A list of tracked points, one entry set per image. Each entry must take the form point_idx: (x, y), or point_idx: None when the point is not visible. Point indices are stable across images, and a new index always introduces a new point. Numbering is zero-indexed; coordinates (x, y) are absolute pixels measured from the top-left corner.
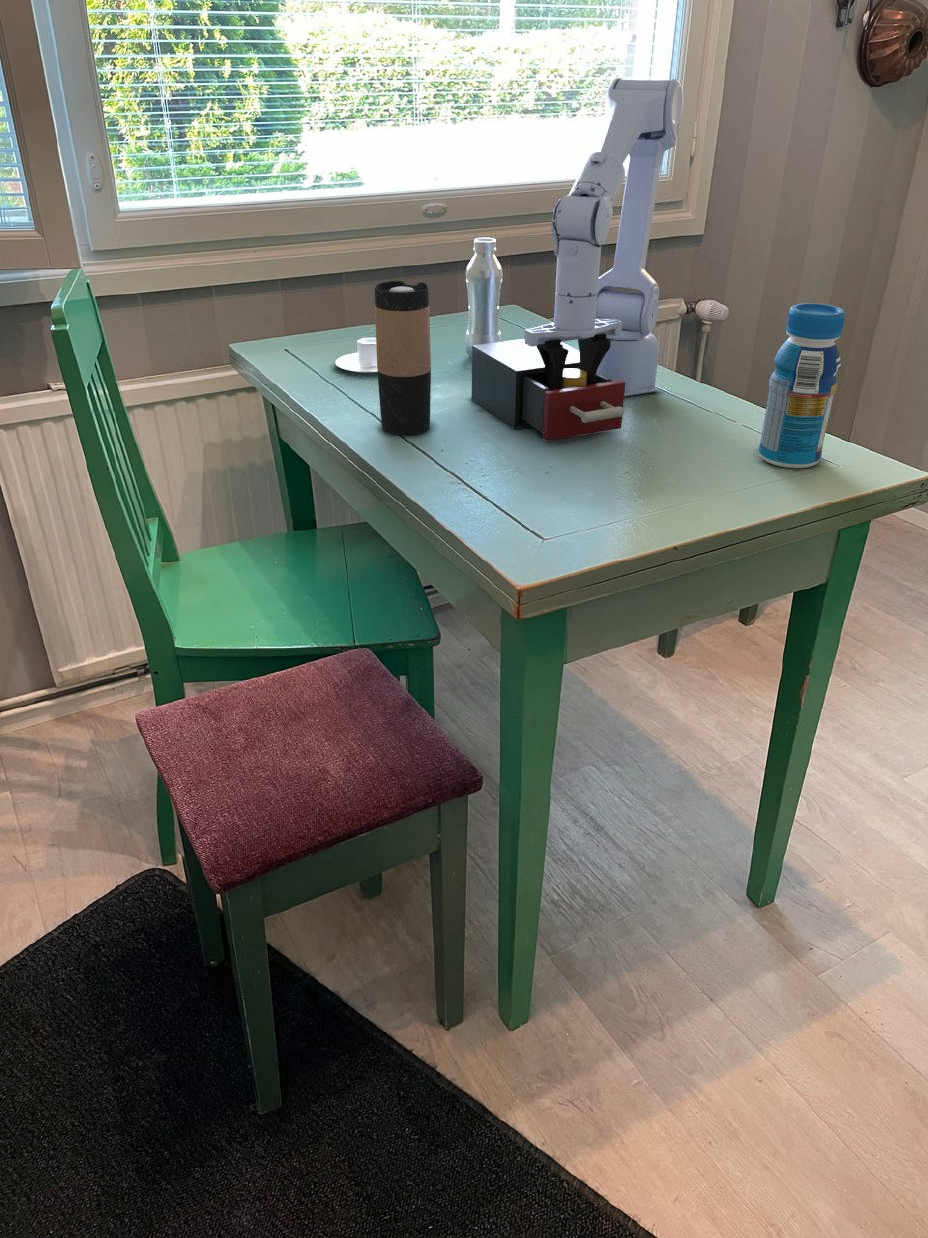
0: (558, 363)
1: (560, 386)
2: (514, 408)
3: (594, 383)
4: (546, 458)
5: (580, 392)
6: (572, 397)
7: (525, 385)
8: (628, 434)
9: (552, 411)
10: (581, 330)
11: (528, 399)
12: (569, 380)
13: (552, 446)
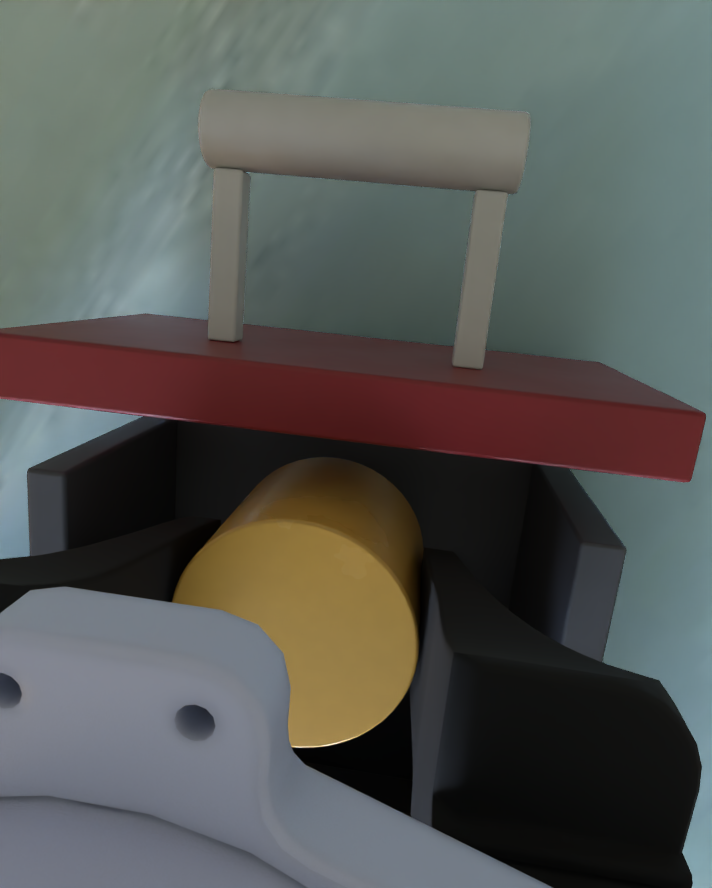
0: (530, 639)
1: (444, 560)
2: None
3: None
4: (694, 232)
5: (394, 374)
6: (466, 377)
7: None
8: (122, 294)
9: (618, 384)
10: (178, 838)
11: None
12: (382, 546)
13: (553, 356)
